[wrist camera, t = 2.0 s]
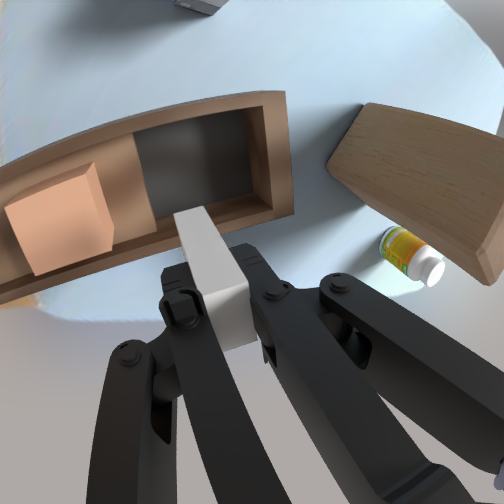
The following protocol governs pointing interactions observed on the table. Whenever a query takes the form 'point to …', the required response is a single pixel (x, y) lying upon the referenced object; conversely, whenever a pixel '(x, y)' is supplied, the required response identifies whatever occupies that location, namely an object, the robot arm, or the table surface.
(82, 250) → the clay block
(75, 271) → the channel
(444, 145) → the block
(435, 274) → the supplement bottle
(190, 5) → the blue retail box
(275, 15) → the table surface
